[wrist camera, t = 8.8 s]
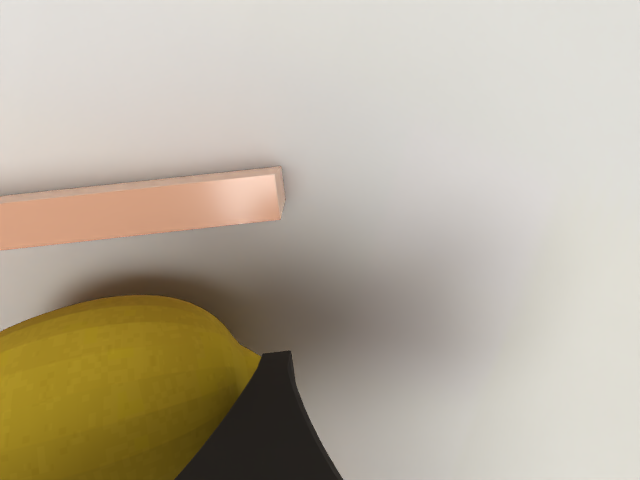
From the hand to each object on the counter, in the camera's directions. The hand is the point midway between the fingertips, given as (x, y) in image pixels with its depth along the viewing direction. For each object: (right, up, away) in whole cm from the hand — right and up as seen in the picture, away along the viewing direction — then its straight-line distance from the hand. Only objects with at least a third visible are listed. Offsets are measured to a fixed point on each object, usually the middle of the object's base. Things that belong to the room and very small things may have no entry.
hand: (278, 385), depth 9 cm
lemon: (0, 0, +1) cm, 1 cm away
